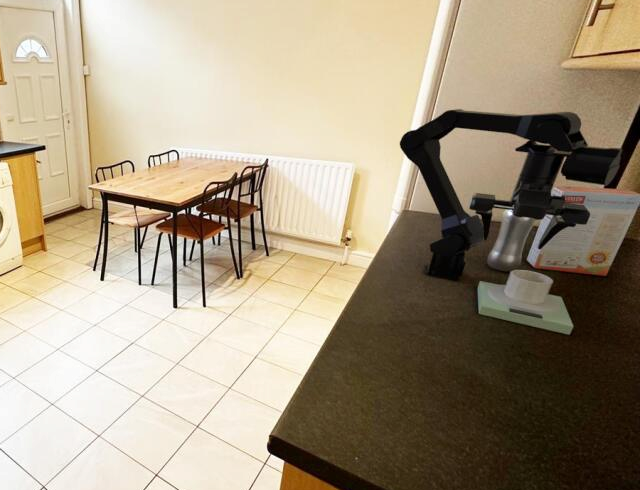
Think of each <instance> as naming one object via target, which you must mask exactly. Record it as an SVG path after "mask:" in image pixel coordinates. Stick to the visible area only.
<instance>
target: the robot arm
mask: <svg viewBox="0 0 640 490" xmlns="http://www.w3.org/2000/svg"><path fill="white" fill-rule="evenodd" d="M581 128H582V120H581V118H580V117H579V115H578V114H576V113H574V112H572V111H559V112H558V111H557V112H543V113H530V114H518V113H517V114H514V113H502V112H487V111H477V110H476V111H475V110H464V109H461V108H454V109H449V110H446V111H444V112H442V113H441V114H440V115H439V116H437V117H435V118H433V119H431V120H430V121H428V122H426V123H425V124H423V125H421V126H419V127H418V128H416V129H411V130H407V132H405V133H404V134H403V135H402V136H401V138H400V141H399V147H400V150H401V151H402V152H403V154H404V155H405V157H406V158H407V159H408V160H409V161H410V162H411V163H412V164H414V165H415V166H416V167H417V168H418V170H419V172H420V175H421V177H422V179H423V181H424V183H425V185H426V188H427V190H428V192H429V194H430V197H431V199H432V200H433V203H434V205H435V207H436V209H437V212H438V214H439V216H440V220H441V222H440V234H441V238H440V239H438V240H436V241H434V242H431V243H429V249H430V250H429V251H430V253H432V255H431V258H430V262H429V264H428V265H427V270H426V275H428V276H431V277H438V278H443V279H447V280H451V281H459V280H460V277H462V275H463V272H464V270H465V267H466V264H467V259H466V257H465V256H466V252H468V251H469V250H470V249H472V248H475V247H476V246H478V245H480V244H481V243H482V242H483V241H487V240H488V237H489V234H490V229H491V223H492V218H493V209H500V210H506V209H507V210H513V215H514V216H516V217H527V218H534V219H536V221H537V220H539V221H541V220H542V219H544V217H545V215H553V217H552V219H551V221H550V222H549V224H548V226H547V228H546V230H545V232H544V234H543V236H542V238H541V240H540V242H539V245H538V249H541V248H542V247H544V246H545V245H546V244H547V243H548V242H549V241H550V240H551V239H552V237H554V236H555V235H556V234H557V233H559V232H560V231H561V230H563V229H565V228H567V227H575V226H576V224H581V225H585V224H587V222H588V219H589V217H590V212H589V211H588V209H587V208H586V207H585V206H584V205H579V204H570V203H565V197H562V196H551V193H552V190H553V188H554V186H555V182H556V180H557V178H558V175H559V172H560V174H561V176H562V177H565V181H570V182H580V183H587V184H593V185H599V186H608V185H609V184H610V183H611V182H612V181H613V179H614V178H615V176H616V175H617V173H618V171H619V169H620V167H621V165H620V163H621V155H622V152H623V148H619V147H598V146H589V143H588V142H587V140H586V138H585V137H584V135H583V133H582V132H581ZM455 129H465V130H473V131H483V132H491V133H502V134H510V135H514V136H517V137H519V138H521V139H524V140H527V141H526V142H525V143H524V144H521V145H520V146H518V147H516V148H515V149H514V151H515V152H519V153H526V155H525V158H524V160H523V163H522V166H521V169H520V172H519V174H518V176H517V180H516V183H515V185H514V188H513V191H512V193H511V195H510V199H509V200H503V199H496V195H495V194H490V193H489V194H488V193H481V192H475V193H473V194H472V195H471V198H470V201H469V206H468V209H469V210H470V211H474V213H475V215H472V216H471V215H470V214H469V213H468V212H467V211H465V209H464V207H463V205H462V203H461V201H460V199H459V197H458V195H457V192H456V190H455V188H454V186H453V183H452V181H451V179H450V178H449V175H448V173H447V171H446V168H445V167H444V164H443V162H442V159H441V148H442V147H441V146H442V145H441V142H440V140H442V139H444V138H445V137H446V136H448V135H449V134H450V133H452V131H454V130H455ZM479 215H480V216H479ZM481 221H482V222H481Z"/></svg>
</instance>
